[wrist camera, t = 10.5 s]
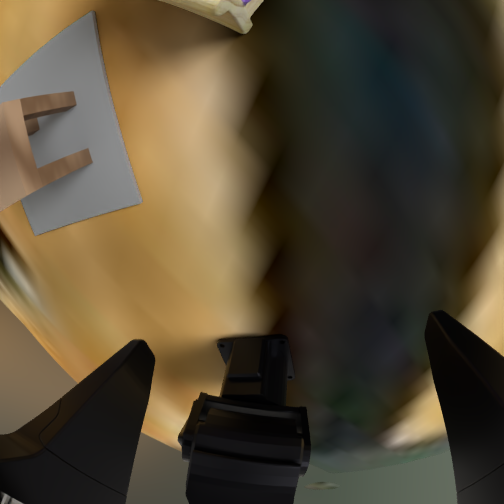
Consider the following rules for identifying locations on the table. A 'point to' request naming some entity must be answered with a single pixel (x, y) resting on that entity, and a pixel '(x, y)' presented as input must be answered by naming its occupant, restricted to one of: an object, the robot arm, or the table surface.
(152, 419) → the table surface
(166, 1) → the toy sofa
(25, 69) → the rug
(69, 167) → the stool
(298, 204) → the table surface
